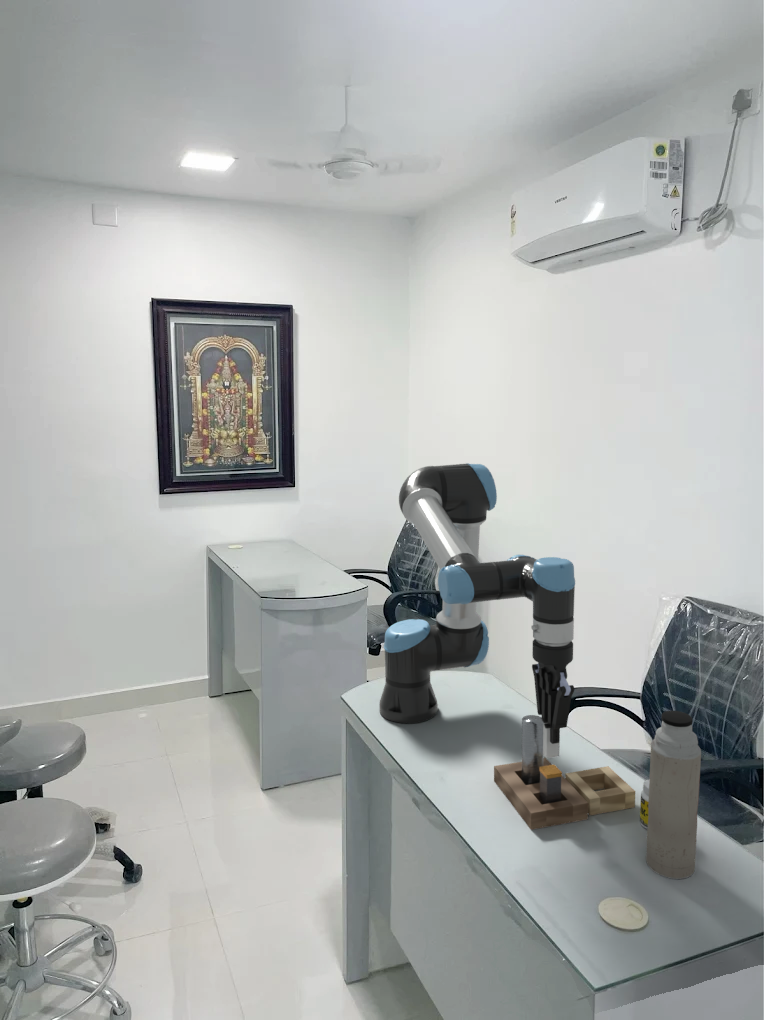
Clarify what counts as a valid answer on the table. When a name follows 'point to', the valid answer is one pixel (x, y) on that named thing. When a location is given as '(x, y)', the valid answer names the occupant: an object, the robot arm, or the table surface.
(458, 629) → the robot arm
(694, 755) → the thermos bottle
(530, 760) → the grey metal cylinder
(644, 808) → the supplement bottle
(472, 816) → the table surface
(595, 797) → the frame
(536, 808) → the socket block
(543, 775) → the key
